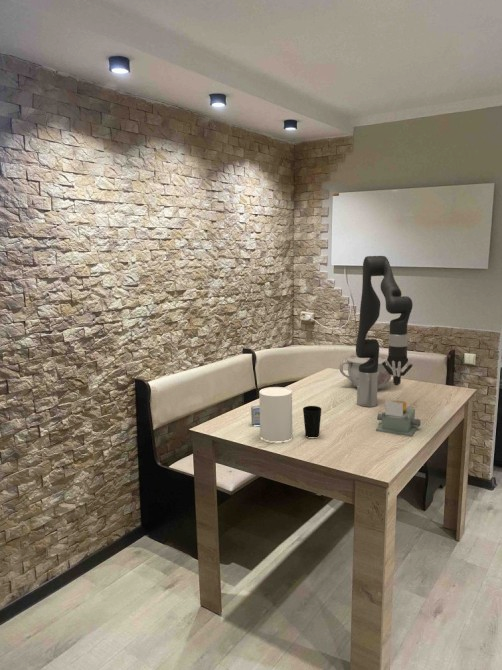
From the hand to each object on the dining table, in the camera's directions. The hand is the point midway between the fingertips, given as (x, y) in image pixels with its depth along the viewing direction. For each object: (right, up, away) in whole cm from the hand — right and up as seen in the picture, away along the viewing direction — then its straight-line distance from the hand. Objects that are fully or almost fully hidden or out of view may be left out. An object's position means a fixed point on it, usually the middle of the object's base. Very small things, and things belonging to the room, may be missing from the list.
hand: (396, 384), depth 210 cm
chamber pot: (+6, -9, +72) cm, 73 cm away
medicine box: (-57, -20, +15) cm, 62 cm away
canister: (-51, -22, 0) cm, 56 cm away
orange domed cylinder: (+3, -18, +8) cm, 20 cm away
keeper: (-1, -13, 0) cm, 14 cm away
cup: (-36, -22, 0) cm, 42 cm away
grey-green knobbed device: (+3, -19, +8) cm, 21 cm away
